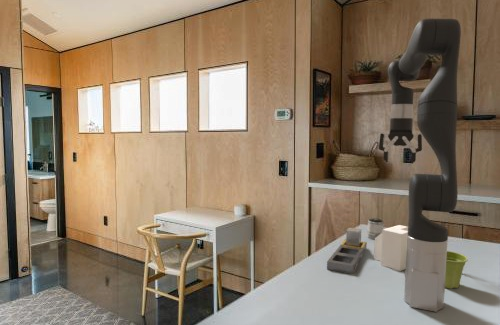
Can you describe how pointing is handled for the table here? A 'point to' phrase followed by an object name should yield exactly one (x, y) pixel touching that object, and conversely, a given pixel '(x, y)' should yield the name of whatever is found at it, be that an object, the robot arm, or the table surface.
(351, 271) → the rail
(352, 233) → the pale grey square box
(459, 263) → the plant pot
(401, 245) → the white angular block
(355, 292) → the table surface
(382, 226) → the camera lens
